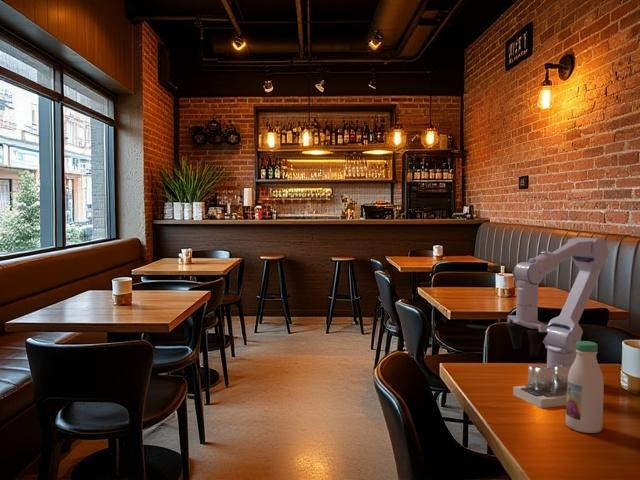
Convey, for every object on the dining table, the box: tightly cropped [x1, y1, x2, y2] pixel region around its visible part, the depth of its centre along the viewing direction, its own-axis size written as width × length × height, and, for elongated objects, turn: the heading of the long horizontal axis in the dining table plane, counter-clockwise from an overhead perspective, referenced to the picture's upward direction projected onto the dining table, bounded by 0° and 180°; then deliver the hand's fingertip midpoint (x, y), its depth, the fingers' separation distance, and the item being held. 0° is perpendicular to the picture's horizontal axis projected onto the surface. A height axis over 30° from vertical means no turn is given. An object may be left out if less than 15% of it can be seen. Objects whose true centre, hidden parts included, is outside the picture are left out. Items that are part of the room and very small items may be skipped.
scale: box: [512, 384, 567, 409], centre depth 152 cm, size 14×11×2 cm
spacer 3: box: [553, 364, 571, 389], centre depth 153 cm, size 4×4×6 cm
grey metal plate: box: [525, 382, 567, 396], centre depth 152 cm, size 11×8×1 cm
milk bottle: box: [565, 340, 605, 434], centre depth 132 cm, size 8×8×20 cm
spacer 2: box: [533, 365, 552, 391], centre depth 151 cm, size 4×4×6 cm
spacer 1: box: [527, 364, 542, 385], centre depth 163 cm, size 4×4×6 cm
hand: (525, 351), depth 162 cm, fingers open, 7 cm apart
